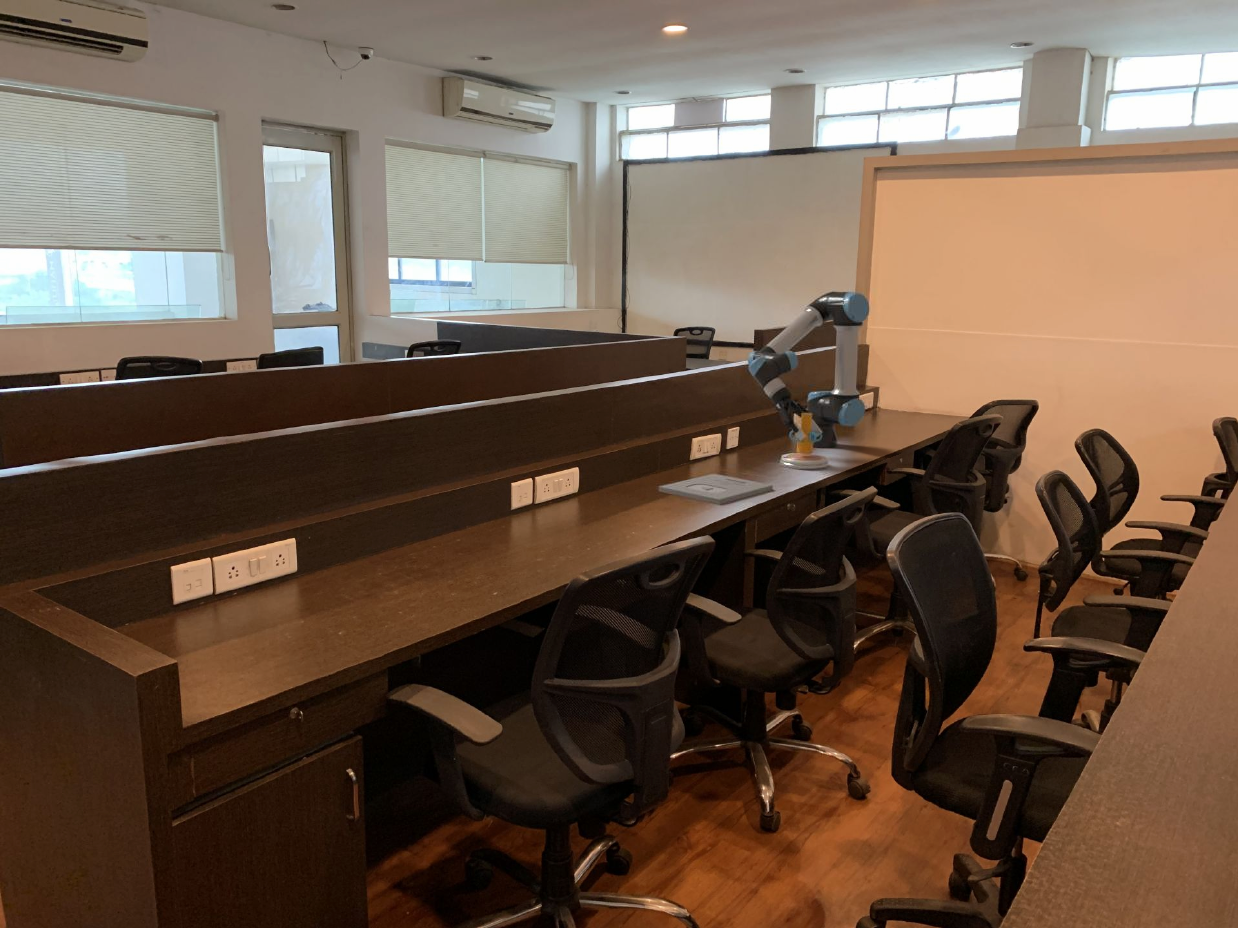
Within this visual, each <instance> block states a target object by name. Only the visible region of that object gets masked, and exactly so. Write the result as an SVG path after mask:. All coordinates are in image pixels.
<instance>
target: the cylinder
mask: <svg viewBox="0 0 1238 928" xmlns="http://www.w3.org/2000/svg"><path fill="white" fill-rule="evenodd" d="M800 428H801V430H802V431H803V432H804V434H805V435H806V437H805V438H804V439H803V440H802V441H800V440H799V438H798V437H797V436H796V434H795V433H794V432H793V430H792V429H791V431H790V432H789V434H788V435H789V439H790V440H791V441H794V442H796V453H801V454H814V447H813V443H815V442H818V441H820V440H821V438H822V434H821V432H820V431H813V430H812V413H802V414H801V417H800ZM793 433H794V434H795V437H796V438H793V436H792V434H793ZM815 433H819V434H820V438H819V439H817V437H816V434H815ZM813 435H814V438H813ZM816 439H817V440H816ZM812 440H813V441H812Z"/></svg>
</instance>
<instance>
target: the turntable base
mask: <svg viewBox="0 0 1238 928" xmlns="http://www.w3.org/2000/svg"><path fill="white" fill-rule="evenodd" d="M779 465H780V466H781V467H783V468H787V469H792V470H798V471H799V470H800V471H819V470H820V471H821V470H826V469H828V468H829V462H828V461H827V464H824V465H818V466H802V465H793V464H788V463H785V462H782V458H780V460H779Z"/></svg>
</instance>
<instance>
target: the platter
mask: <svg viewBox="0 0 1238 928" xmlns="http://www.w3.org/2000/svg"><path fill="white" fill-rule="evenodd" d="M781 459H782V462H785V463H788V464H793V465H802V466H818V465H824V464H827V462H828V458H827V457H826V456H823V455H820V454H814V453H811V454H801V453H797V452H795V453H792V452H791V453H787V454H782V455H781Z"/></svg>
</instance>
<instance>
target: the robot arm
mask: <svg viewBox="0 0 1238 928" xmlns="http://www.w3.org/2000/svg"><path fill="white" fill-rule="evenodd" d="M869 314H870V303H869V301H868V299H867V297H865V295H864V294H862V293H859V292H855V291H829V292H826V293H824V294H822V295H821V296H819V297H817V298H816V299H815V300H813V301H812V302H810V303H809V304H808V305H807V306H806V307H805V308H804V311H803V313H802V314H800V315H799V316H798V317H797V318H796V319H795V320H793V322H791V323H790V324H789V325H788V326H787V327H785V328H784V330H782V331H781V332H780V333H779V334H778V335H777V336H776V337H774V338H773V339H772V340H770V342H768V343H767V344H766V345H765V346H764V347H763V348H761V349H760V350H754V351H752V352H750V353H749V355H748V357H747V363H748V370H749V372H750V374H751V376H752V378H754V380H756V382H757V383H758V385H759V386H760V387H761V388H762V389H763V391H764V393H765V395H767V396H768V398H770V400H771V402H772V403H773V404H774V405H775V406H774V407H775V409H776V411H778V414H779V416H780V419H781V421H782V423H783V426H784V427H786V428H787V429H791V431H792V430H793V433H794V434H796V435H795V437H796V436H797V437H798V438H799V440H800V441H802V440H803V439H804V438H805V437H806V435H805V434H804V432H803V431H802V430H801V426H799V425H798V423H797V422H795V421H794V416H793V414H795V415H797V416H798V417H799V418H801V414H802V413H812V430H813V431H820V432H821V434H822V438H821V440H820V441H818V442H815V443H813V448H834V447H838V438H837V434H836V430H835V425H840V426H843V427H853V426H856V425H858V424H859V423H860V422H861V420H862V419H863V418H864V416H865V412H866V406H865V403H864V401H863V400H862V399H861V398H860V395H861V394H860V391H858V389H857V377H858V376H857V373H858V372H857V371H858V353H859V352H858V351H859V350H858V349H859V348H858V347H859V330H860V329H861V328H862V327H863V323H864V321H866V320H867V318H868V316H869ZM830 321H832V322H833V323H832V326H833V328H834V329H835V330H836V340H835V343H836V344H835V364H834V365H835V368H834V387H833V390H827V391H826V390H823V391H821V390H820V391H811V392H809V393H808V395H807V400H806V401H807V404H806V405H807V406H806V407H805V406H804V405H803V404H802V403H800V402H799V400H798V399H796V398H794V400H793V399H792V392H791V391H790V389H788V387H787V386H786V384H785V383H784V382H783V381H782V379H781V378H780V376H782V375H785V374H787V373H789V372H792V371H793V370H794V369H796V368H797V367H798V365H799V359H798V356H797V354H796V353H795V352H794V351H792V350H790V349H792V348H793V347H794V346H795V345H796V344H798V343H799V342H800V341H801V340H802V339H803V338H804V337H806V336H807V335H808V334H809V333H810V332H811V331H813V330H814V329H815V328H816V327H820V326H822V325H823V324H825V323H826V322H830ZM815 434H816V437H817V439H819V438H820V434H819V433H815ZM813 438H814V435H813ZM817 439H816V440H817ZM812 441H813V440H812Z"/></svg>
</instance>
